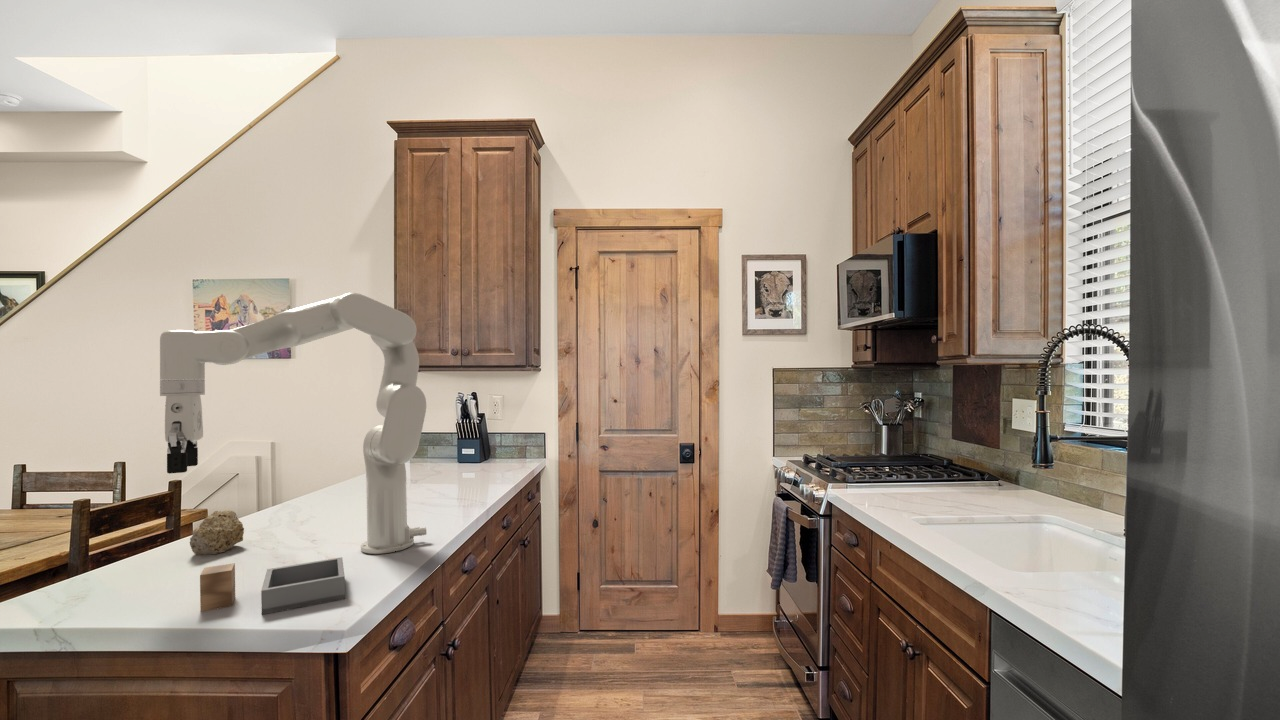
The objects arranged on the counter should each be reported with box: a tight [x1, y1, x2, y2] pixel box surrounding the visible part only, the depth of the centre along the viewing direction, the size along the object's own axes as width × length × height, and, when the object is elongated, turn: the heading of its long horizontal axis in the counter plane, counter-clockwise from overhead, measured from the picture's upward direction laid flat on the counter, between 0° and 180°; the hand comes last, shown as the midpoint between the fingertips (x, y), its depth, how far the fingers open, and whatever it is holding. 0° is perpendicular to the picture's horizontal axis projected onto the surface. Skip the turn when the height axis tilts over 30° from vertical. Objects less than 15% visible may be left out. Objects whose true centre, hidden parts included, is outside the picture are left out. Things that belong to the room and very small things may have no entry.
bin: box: [260, 556, 346, 616], centre depth 119 cm, size 14×14×4 cm
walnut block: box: [199, 562, 236, 612], centre depth 115 cm, size 5×5×7 cm
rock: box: [189, 510, 245, 556], centre depth 150 cm, size 11×12×10 cm
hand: (183, 469), depth 123 cm, fingers open, 9 cm apart
